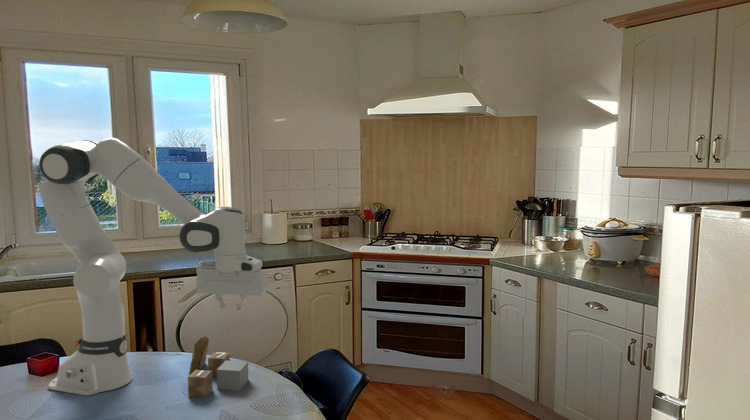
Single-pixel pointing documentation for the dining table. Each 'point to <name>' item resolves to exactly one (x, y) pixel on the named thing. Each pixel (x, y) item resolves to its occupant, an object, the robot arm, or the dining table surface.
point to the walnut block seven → (217, 361)
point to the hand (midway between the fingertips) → (231, 308)
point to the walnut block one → (200, 383)
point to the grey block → (232, 375)
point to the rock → (199, 354)
